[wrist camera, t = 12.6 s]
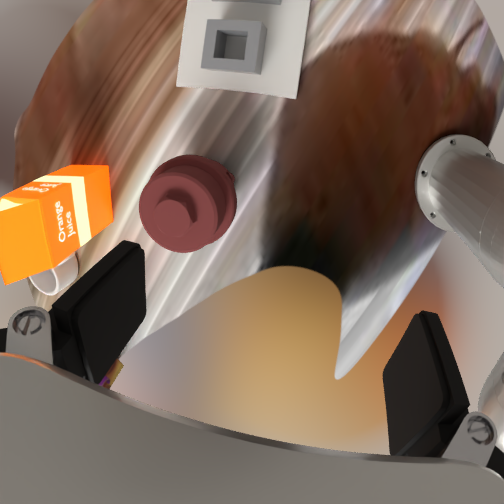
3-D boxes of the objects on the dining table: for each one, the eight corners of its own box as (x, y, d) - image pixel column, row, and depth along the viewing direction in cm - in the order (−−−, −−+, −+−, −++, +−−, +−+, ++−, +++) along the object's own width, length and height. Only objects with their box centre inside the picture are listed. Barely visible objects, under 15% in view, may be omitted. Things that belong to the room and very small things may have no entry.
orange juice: (109, 165, 42) (4, 218, 24) (114, 222, 46) (25, 294, 28) (69, 164, 43) (-31, 213, 25) (76, 217, 47) (-12, 280, 29)
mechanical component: (164, 157, 40) (235, 135, 37) (188, 226, 44) (258, 211, 41) (112, 183, 29) (202, 152, 26) (148, 272, 33) (237, 256, 30)
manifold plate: (317, -47, 24) (316, -67, 20) (296, 99, 34) (293, 99, 29) (202, -52, 26) (187, -68, 21) (181, 86, 35) (161, 86, 30)
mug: (61, 286, 55) (42, 303, 50) (35, 243, 52) (15, 258, 46) (97, 269, 51) (77, 288, 46) (68, 221, 48) (46, 236, 42)
